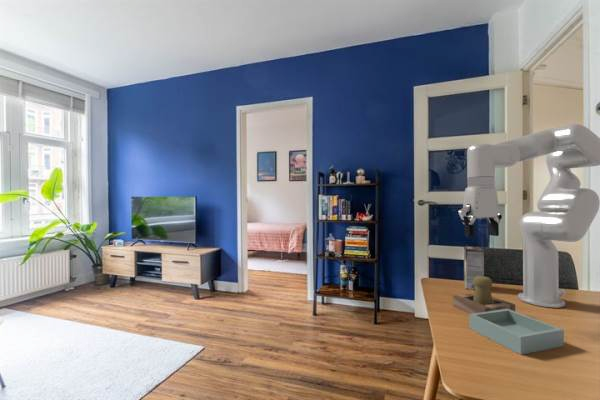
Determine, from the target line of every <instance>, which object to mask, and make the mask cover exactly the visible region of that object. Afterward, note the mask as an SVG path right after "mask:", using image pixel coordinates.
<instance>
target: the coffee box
mask: <svg viewBox="0 0 600 400" xmlns="http://www.w3.org/2000/svg"><path fill="white" fill-rule="evenodd" d="M484 252H485V251H484V249H483V248H482V247H481V246H479V247H478V246H472V245H471V246H470V245H466V246H465V245H464V246H463V282H464V283H465V284H464V283H463V284H464V287H465V289H466V288H468V289H467V290H471V289H475V285H474V283H473V279H474V277H476V276H484V275H485V261H484V260H485V258H484V257H485V256H484V255H485V253H484Z"/></svg>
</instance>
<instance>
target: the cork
mask: <svg viewBox="0 0 600 400" xmlns="http://www.w3.org/2000/svg"><path fill="white" fill-rule="evenodd" d="M473 283H474V285H475V290H473V291H474V298H473V301H475V302H477V303H480V304H482V305H490V304H493V302H492V297H493V295H492V290H491V288H492V287H493V281H492V279H491V277H487V276H476V277H474V279H473Z"/></svg>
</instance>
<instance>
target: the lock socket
mask: <svg viewBox="0 0 600 400" xmlns="http://www.w3.org/2000/svg"><path fill="white" fill-rule="evenodd" d="M473 298H474V293H464V294H457V295H452V307H454V308H457V309H459V310H461V311H463V312H465V313H467V314H473V313H481V312H488V311H495V310H502V309H510V310H512V311H515V312H516V304H515V303H511V302H509V301H506V300H504V299H500V298H498V297H495V296H492V302H493V304H490V305H482V304H480V303H477V302H475V301H473Z"/></svg>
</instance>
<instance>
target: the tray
mask: <svg viewBox="0 0 600 400" xmlns="http://www.w3.org/2000/svg"><path fill="white" fill-rule="evenodd" d="M468 315H469V316H468V324H469V325H468V326H469V327H468V328H469V329H470V330H471V331H473V332H476V333H477V334H480V335H482V336H484V337H486V338H488V339H490V340H491V341H493V342H495V343H496V344H499V345H501V346H504V347H505V348H508V349H509V350H511V351H512V352H515V353H518V354H519V355H526V354H527V355H528V354H531V352H532V353H536V352H541V351H546V350H551V349H557V348H562V347H564V346H565V339H564V338H565V329H563V328H560V327H558V326H555V325H552V324H549V323H548V322H544V321H541V320H539V319H536V318H533V317H531V316H528V315H525V314H523V313H520V312H518V311H516V310H515V311H512V310H510V309H502V310H495V311H488V312H481V313H473V314H470V313H468Z"/></svg>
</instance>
